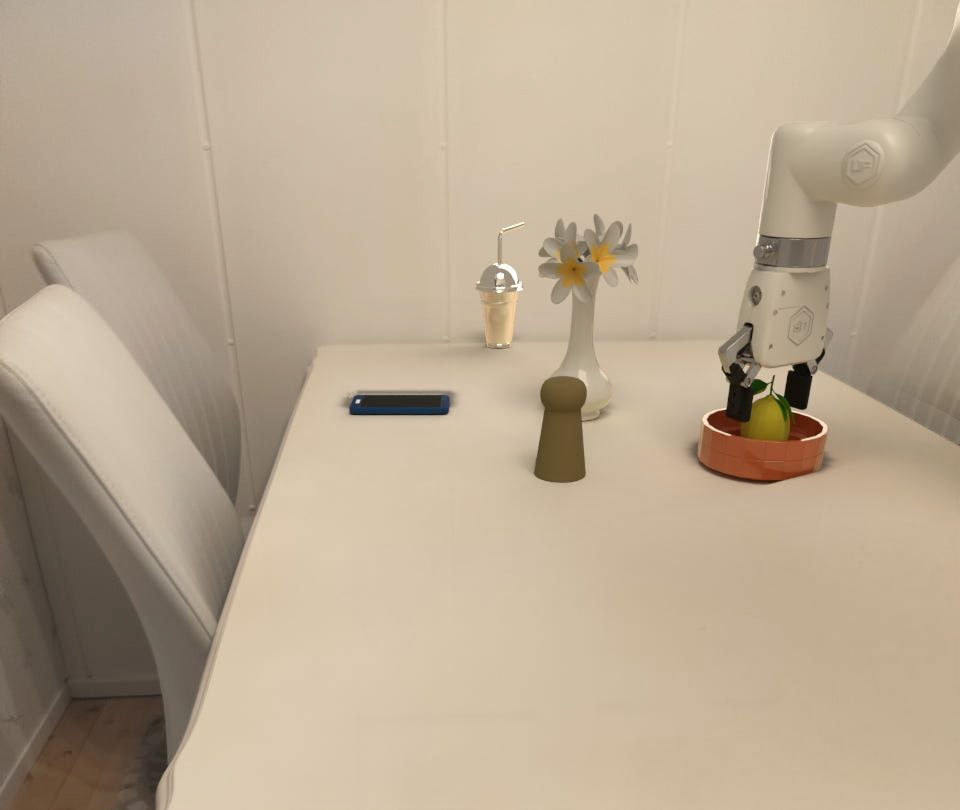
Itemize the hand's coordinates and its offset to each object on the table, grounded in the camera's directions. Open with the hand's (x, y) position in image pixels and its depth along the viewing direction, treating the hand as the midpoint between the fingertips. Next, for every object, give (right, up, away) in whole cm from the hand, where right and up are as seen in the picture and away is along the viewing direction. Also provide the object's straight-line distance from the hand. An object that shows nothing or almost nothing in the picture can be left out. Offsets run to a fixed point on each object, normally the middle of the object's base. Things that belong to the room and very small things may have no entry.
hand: (766, 413), depth 107 cm
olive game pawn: (-24, -7, 0) cm, 25 cm away
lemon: (0, -5, +3) cm, 6 cm away
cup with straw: (-30, +27, +59) cm, 71 cm away
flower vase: (-20, +4, +20) cm, 28 cm away
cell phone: (-45, +7, +24) cm, 51 cm away
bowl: (0, -5, +3) cm, 6 cm away
